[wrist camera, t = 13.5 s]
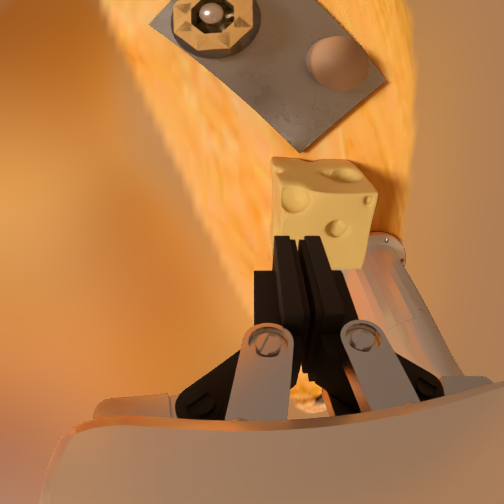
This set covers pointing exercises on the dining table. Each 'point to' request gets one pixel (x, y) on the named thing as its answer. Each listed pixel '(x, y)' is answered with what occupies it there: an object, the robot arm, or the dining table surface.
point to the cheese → (324, 206)
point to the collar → (188, 31)
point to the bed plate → (284, 70)
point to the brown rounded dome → (338, 63)
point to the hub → (219, 28)
